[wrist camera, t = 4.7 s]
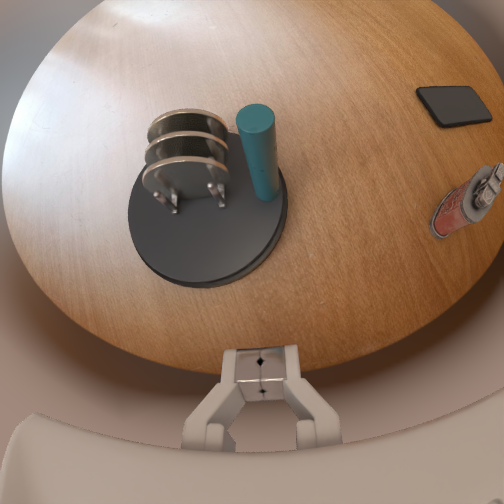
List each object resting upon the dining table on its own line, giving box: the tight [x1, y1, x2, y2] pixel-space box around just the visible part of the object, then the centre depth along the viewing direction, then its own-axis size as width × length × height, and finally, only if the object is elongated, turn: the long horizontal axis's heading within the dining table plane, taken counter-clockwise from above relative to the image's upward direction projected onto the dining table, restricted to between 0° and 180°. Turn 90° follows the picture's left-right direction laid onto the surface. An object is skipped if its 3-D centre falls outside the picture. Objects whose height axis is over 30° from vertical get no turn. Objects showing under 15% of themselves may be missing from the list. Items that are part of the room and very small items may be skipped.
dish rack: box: [128, 104, 283, 283], centre depth 23 cm, size 17×17×13 cm
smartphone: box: [416, 86, 492, 128], centre depth 28 cm, size 7×1×15 cm
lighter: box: [429, 162, 504, 239], centre depth 22 cm, size 8×3×10 cm, turn 132°
